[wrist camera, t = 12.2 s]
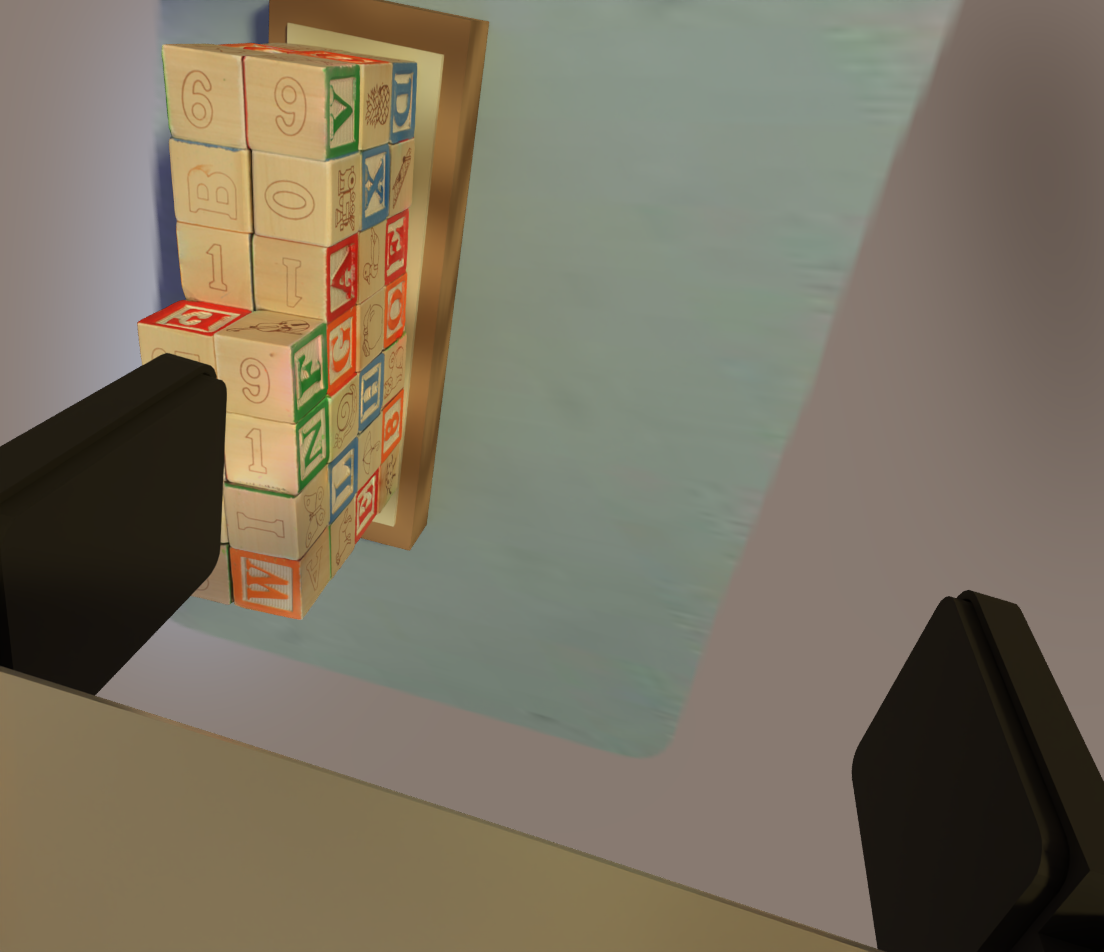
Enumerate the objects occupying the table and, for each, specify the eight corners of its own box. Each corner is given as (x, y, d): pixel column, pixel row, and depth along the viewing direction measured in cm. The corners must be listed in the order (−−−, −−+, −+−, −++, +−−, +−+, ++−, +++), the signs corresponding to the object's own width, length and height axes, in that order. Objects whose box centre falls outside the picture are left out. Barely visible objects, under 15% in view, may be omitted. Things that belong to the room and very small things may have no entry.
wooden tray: (300, -17, 40) (266, -21, 37) (489, 21, 39) (469, 20, 36) (284, 488, 52) (258, 514, 50) (426, 524, 52) (407, 553, 49)
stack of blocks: (284, 38, 38) (102, 38, 27) (421, 59, 37) (290, 67, 26) (292, 469, 48) (161, 594, 37) (400, 492, 47) (299, 626, 36)
